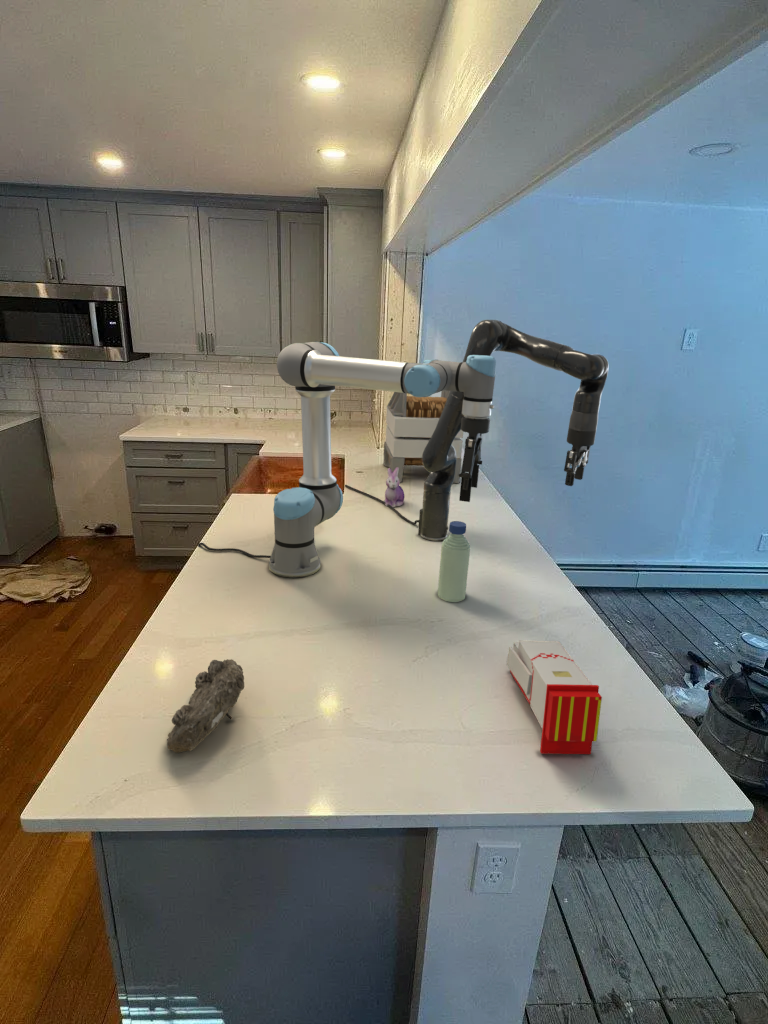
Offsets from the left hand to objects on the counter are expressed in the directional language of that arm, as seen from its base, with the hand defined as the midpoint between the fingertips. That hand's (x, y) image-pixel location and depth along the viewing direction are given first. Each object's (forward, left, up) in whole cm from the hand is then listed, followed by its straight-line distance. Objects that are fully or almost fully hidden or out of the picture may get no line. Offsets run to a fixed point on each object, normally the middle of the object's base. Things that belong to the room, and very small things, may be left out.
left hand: (468, 493), depth 156 cm
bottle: (-1, -8, -28) cm, 29 cm away
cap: (-1, -8, -7) cm, 10 cm away
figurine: (-38, +61, -28) cm, 77 cm away
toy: (+26, -47, -28) cm, 61 cm away
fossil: (-35, -73, -28) cm, 86 cm away
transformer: (-39, +110, -28) cm, 120 cm away
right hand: (+28, +19, +1) cm, 34 cm away
